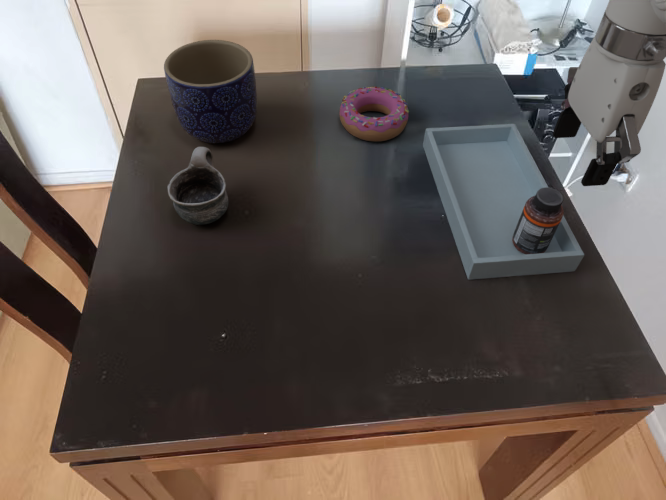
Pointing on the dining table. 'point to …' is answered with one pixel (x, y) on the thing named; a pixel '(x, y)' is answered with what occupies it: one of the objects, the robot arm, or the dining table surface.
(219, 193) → the mug
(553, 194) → the supplement bottle
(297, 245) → the dining table surface
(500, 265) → the blue-grey tray
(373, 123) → the donut
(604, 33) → the robot arm
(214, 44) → the planter
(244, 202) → the dining table surface
